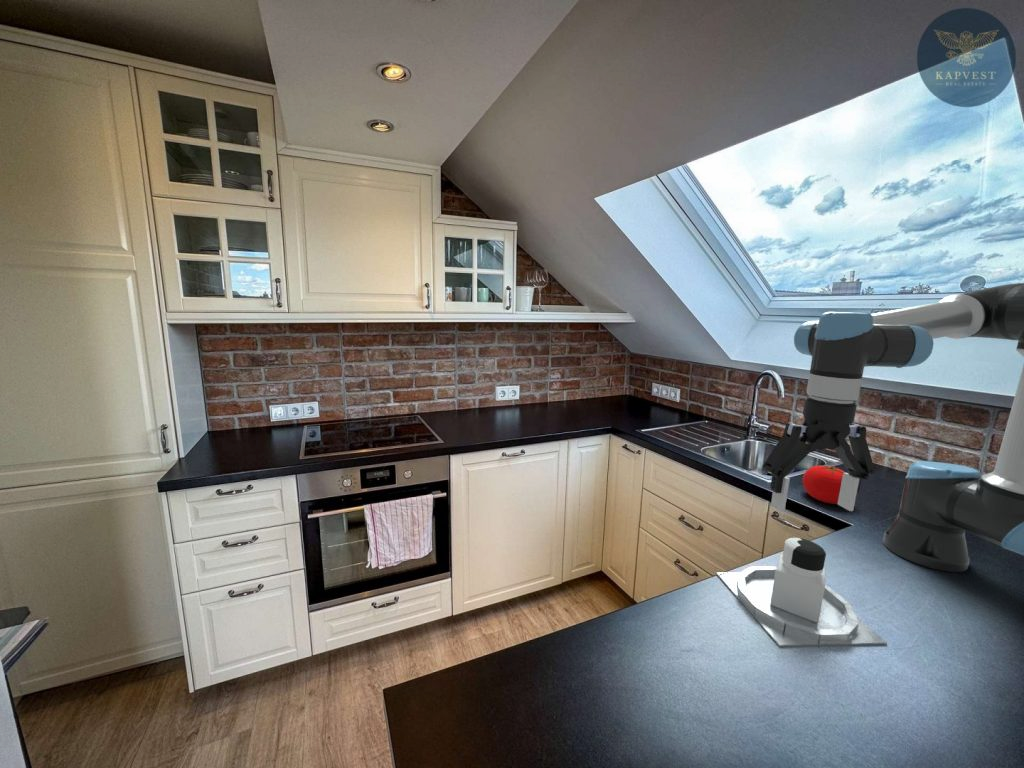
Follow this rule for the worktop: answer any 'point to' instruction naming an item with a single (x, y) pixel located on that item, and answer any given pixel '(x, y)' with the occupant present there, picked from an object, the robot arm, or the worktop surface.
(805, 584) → the container
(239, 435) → the worktop surface
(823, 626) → the duct collar
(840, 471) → the tomato
